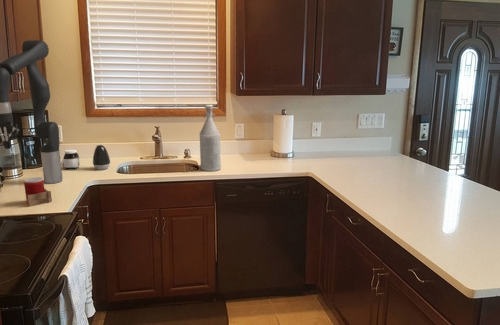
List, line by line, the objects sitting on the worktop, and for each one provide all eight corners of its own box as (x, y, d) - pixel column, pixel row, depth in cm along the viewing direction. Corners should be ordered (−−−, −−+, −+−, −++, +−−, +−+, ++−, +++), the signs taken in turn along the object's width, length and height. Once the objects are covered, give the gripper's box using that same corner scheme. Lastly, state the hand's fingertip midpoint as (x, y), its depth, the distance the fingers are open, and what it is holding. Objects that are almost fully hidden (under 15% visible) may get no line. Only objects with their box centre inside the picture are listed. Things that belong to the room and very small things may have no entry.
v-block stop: (42, 197, 200) (41, 187, 199) (57, 197, 200) (56, 187, 199) (27, 206, 187) (26, 195, 186) (43, 206, 187) (42, 195, 186)
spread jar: (74, 170, 254) (73, 151, 252) (56, 170, 254) (54, 151, 252) (83, 166, 266) (81, 148, 263) (65, 166, 266) (63, 148, 263)
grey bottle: (218, 164, 268) (217, 103, 259) (222, 171, 251) (221, 105, 243) (198, 165, 265) (196, 103, 256) (202, 172, 248) (200, 106, 240)
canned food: (48, 201, 194) (46, 178, 192) (31, 205, 188) (28, 182, 186) (41, 198, 199) (38, 176, 196) (23, 202, 193) (20, 179, 190)
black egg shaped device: (106, 166, 265) (104, 142, 261) (113, 169, 257) (111, 145, 254) (90, 168, 258) (88, 144, 255) (96, 171, 251) (94, 147, 247)
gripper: (21, 110, 194) (26, 147, 198) (-7, 111, 194) (-1, 147, 198) (11, 112, 186) (17, 150, 190) (-17, 113, 187) (-11, 150, 191)
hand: (8, 148), depth 194 cm, fingers closed
